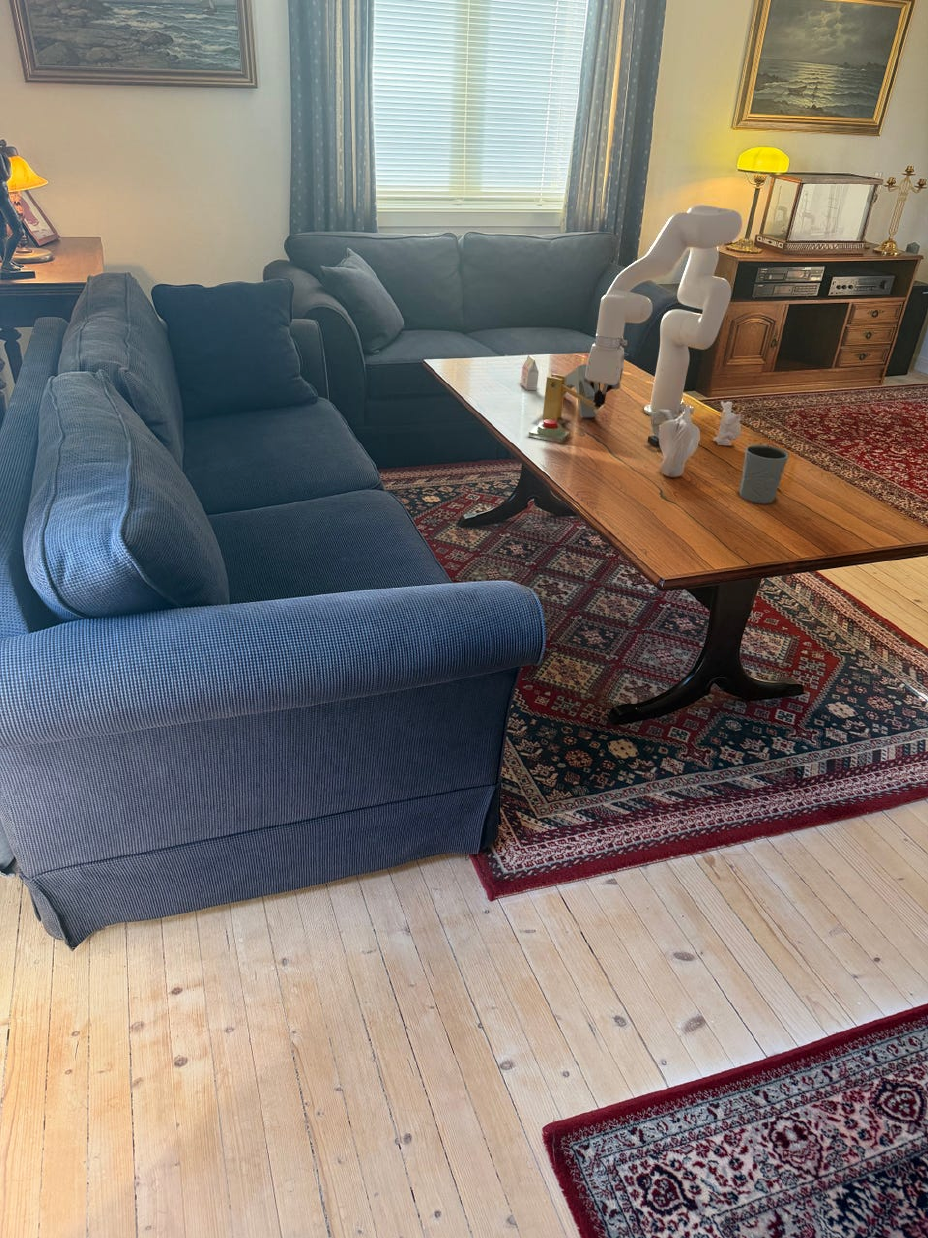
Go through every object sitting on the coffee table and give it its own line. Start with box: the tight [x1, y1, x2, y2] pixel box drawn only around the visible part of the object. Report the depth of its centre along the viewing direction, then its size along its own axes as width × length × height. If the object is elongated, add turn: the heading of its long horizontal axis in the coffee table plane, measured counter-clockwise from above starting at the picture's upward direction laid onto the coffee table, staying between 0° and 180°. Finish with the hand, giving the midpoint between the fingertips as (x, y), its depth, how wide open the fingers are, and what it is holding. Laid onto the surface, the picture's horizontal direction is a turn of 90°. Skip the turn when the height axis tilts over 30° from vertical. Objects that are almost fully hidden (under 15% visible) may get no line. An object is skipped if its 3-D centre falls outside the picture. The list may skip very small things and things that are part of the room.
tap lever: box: [553, 376, 605, 415], centre depth 246 cm, size 17×6×2 cm, turn 65°
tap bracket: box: [542, 373, 566, 422], centre depth 250 cm, size 8×9×14 cm
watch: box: [646, 409, 675, 448], centre depth 236 cm, size 6×8×11 cm
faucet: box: [564, 363, 598, 420], centre depth 263 cm, size 6×17×30 cm
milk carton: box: [520, 354, 540, 391], centre depth 282 cm, size 4×7×10 cm, turn 13°
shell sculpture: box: [659, 404, 701, 478], centre depth 216 cm, size 8×8×18 cm
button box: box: [528, 422, 571, 445], centre depth 240 cm, size 10×7×4 cm
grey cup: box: [739, 444, 789, 505], centre depth 209 cm, size 10×10×12 cm
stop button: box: [542, 419, 559, 429], centre depth 239 cm, size 4×4×2 cm
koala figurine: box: [712, 400, 742, 446], centre depth 242 cm, size 8×7×12 cm
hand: (598, 405), depth 245 cm, fingers closed
